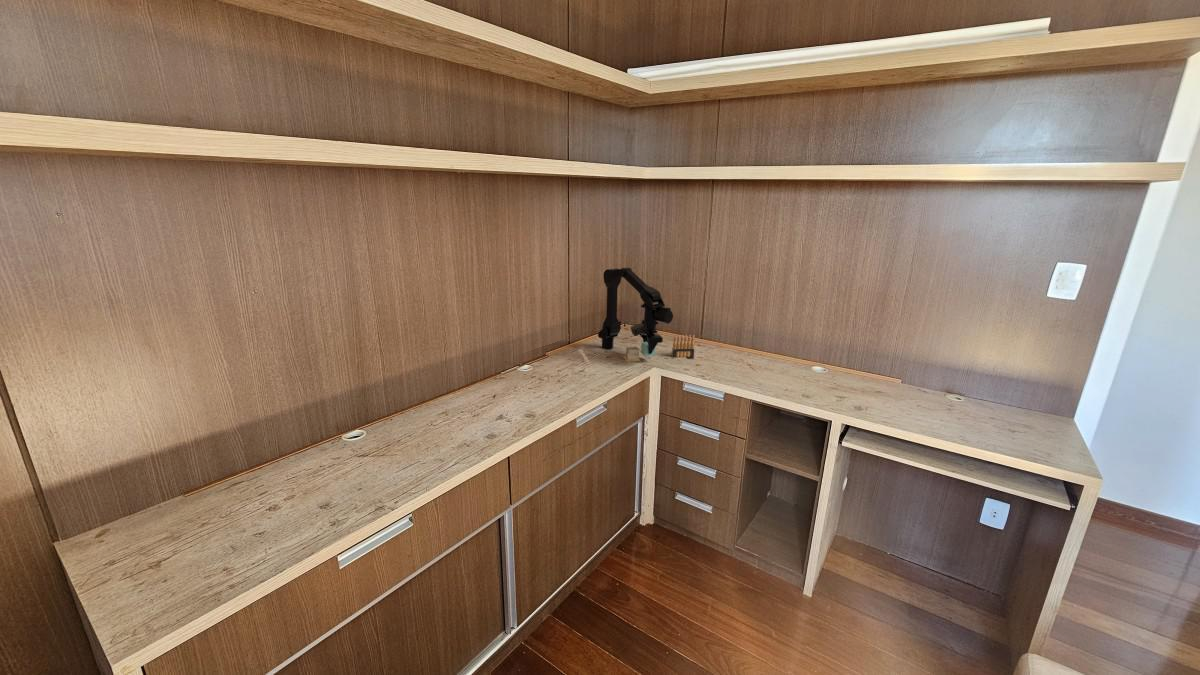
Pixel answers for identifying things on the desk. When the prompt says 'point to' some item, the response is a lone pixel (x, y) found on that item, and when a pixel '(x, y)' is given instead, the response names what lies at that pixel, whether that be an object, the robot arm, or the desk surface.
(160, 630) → the desk surface
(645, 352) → the teal block
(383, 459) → the desk surface
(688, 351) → the ammunition clip
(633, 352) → the maple block
